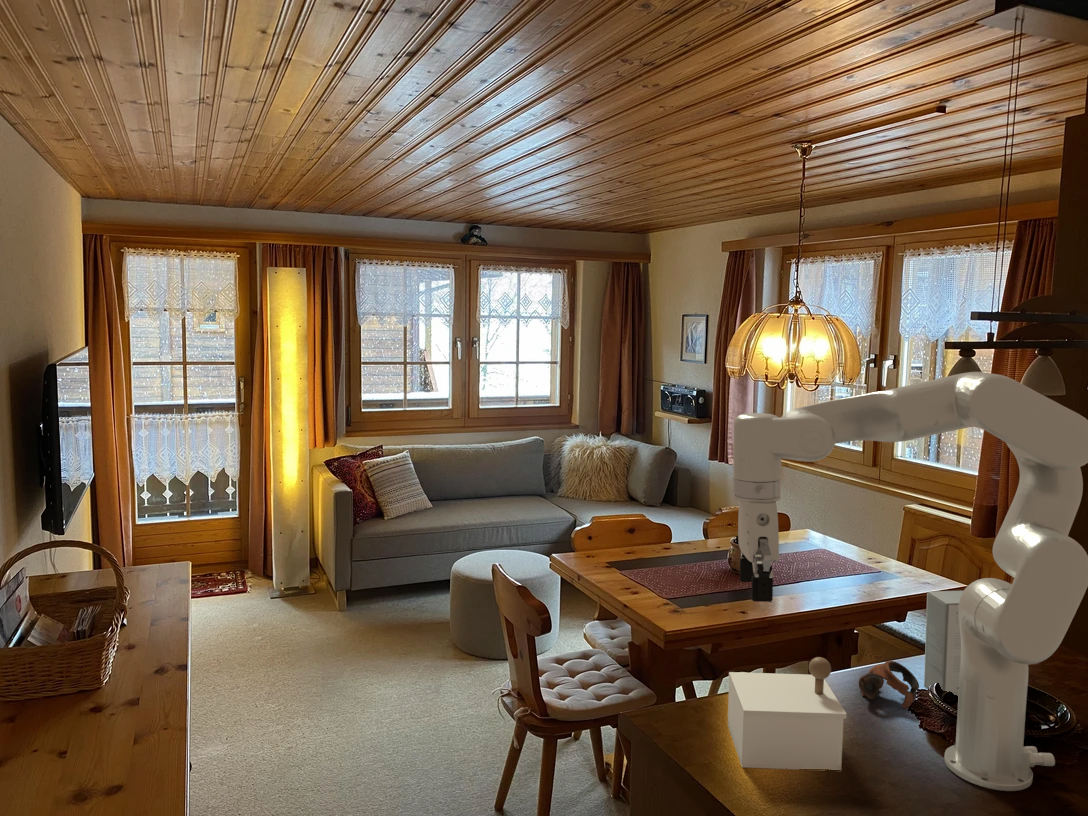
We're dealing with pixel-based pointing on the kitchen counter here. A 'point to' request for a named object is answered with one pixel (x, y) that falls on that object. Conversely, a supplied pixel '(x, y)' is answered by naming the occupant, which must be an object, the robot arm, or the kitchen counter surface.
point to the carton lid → (788, 693)
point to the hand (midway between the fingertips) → (755, 590)
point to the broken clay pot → (889, 681)
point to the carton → (784, 739)
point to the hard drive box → (943, 640)
